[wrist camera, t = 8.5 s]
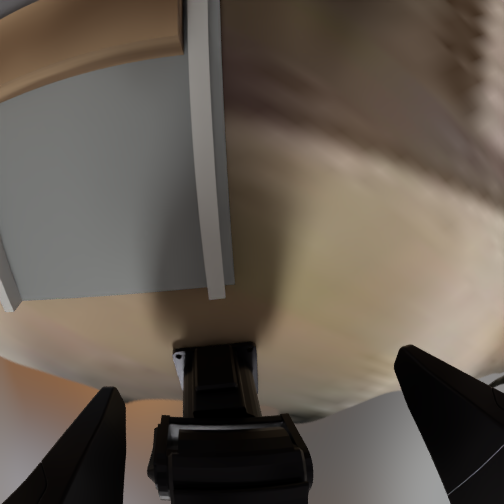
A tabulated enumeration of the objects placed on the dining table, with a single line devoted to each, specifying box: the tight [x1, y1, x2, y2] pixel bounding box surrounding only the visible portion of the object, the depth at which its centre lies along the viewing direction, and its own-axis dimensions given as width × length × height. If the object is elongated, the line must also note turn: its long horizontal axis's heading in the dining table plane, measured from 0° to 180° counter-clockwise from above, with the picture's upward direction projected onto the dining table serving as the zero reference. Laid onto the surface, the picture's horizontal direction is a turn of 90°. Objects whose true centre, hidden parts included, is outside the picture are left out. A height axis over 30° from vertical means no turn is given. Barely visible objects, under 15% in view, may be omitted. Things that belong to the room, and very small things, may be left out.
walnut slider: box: [0, 0, 184, 103], centre depth 10 cm, size 4×14×4 cm, turn 92°
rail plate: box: [0, 0, 235, 312], centre depth 13 cm, size 21×18×4 cm
